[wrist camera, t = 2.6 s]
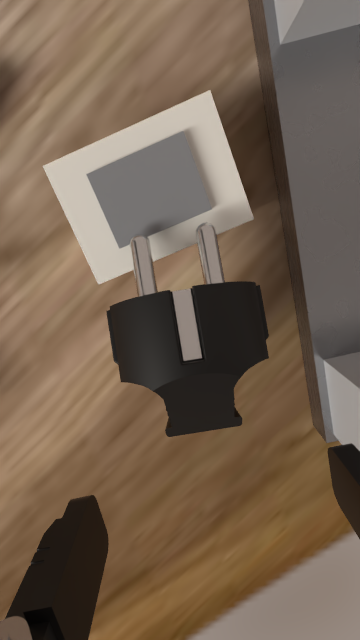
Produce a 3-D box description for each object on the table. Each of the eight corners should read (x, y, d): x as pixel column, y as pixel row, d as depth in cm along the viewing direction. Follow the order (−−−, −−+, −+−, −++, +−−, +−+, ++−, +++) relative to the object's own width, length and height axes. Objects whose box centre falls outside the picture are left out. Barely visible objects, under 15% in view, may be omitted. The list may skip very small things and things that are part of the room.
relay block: (83, 188, 19) (38, 163, 12) (198, 137, 18) (211, 84, 12) (120, 271, 20) (96, 285, 14) (229, 225, 19) (256, 218, 13)
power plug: (154, 397, 21) (110, 471, 9) (136, 282, 22) (72, 213, 10) (241, 383, 21) (308, 440, 9) (221, 268, 22) (260, 181, 10)
